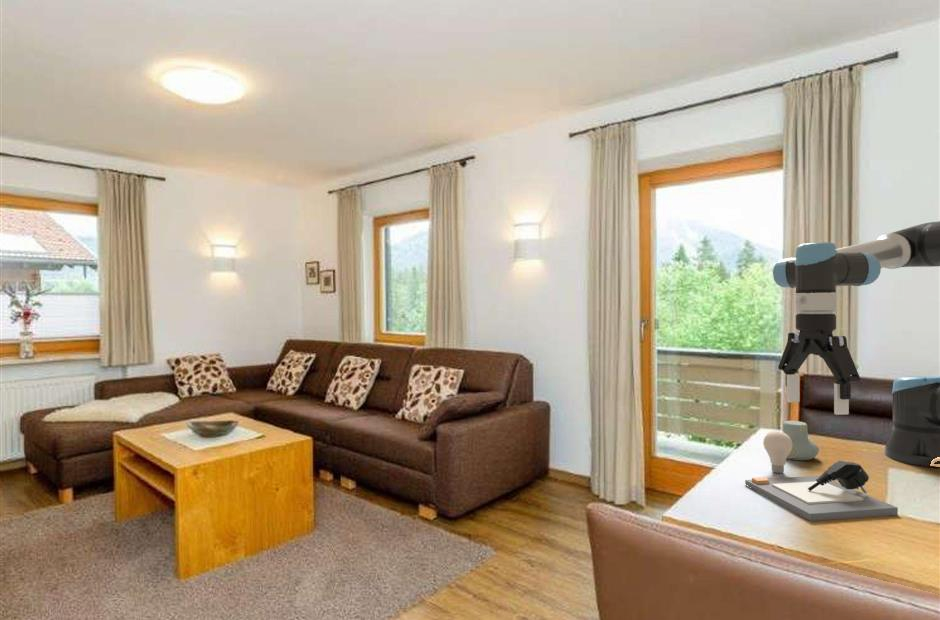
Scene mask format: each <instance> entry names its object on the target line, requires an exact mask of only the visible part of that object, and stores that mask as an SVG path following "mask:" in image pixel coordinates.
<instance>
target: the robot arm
mask: <svg viewBox="0 0 940 620" xmlns="http://www.w3.org/2000/svg"><path fill="white" fill-rule="evenodd" d="M836 247H837V246H836V244H835V243H833V242H825V241H824V242H807V243H802V244H799V245H798V246H797V247H796V248H795V257H788V258H783V259H780V260H778V261H777V262H776V263H775V264H774V266H773V269H772V276H773V281H774V282H775V283H776V284H777V285H778V286H779V287H781V288H791V289H794V288H795V311H797V312H798V313H797V314H796V315H795V329H796V330H797V331H799V332H788V334H787V342H786V345H785V348H784V350H783V353H782V355H781V358H780V361H779V364H778V367H777V368H778V370H779V371H783V373H784V374H785V387H786V402H787V403H800V395H801V394H800V389H801V388H800V373H799V369H800V368H801V367H802V365H803V364H804V363H805V362H806V360H807V359H808V357H809V356H810V355H814V356H819V357H820V358H822V359H823V361H824V362H825V364H826V366H827V368H828V369H829V370H830V372H831V373H832V375H833V377H834V378H835V380H836V381H835V382H834V384H833V405H834V406H833V411H834V412H833V414H834V415H836V416H839V415H840V416H841V415H849V414H850V411H849V409H850V406H849V405H850V402H849V401H850V399H851V398H852V397H851V395H852V394H851V393H852V391H851V390H852V388H851V385H852V384H853V383H859V382H860V381H861V377H860V374H859V372H858V370H857V367H856V365H855V364H856V363H855V362H854V359H853V357H852V354H851V353H850V350H849V348H848V341H847V337H846V335H836V336H835V335H834V333H833V332H834V331H836V330H837V315H836V314H835V313H834V312H836V311H837V287H847V286H848V287H851V286H853V287H860V286H861V287H862V286H867V285H870V284H872V283H875V281H877V279H878V278H879V277H880V274H881V271H882V268H883V269H884V268H885V269H888V270H894V269H901V268H908V267H909V268H910V267H911V268H914V267H917V268H918V267H920V268H923V267H924V268H925V267H926V268H928V267H940V221H931V222H924V223H921V224H920V223H919V224H917V225H914V226H910V227H907V228H903V229H900V230H896V231H894V232H893V231H892V232H889V233H885V234H883V235H880V236H879V237H878V238H877V239H875V240H871V241H867V242H863V243H857V244H853V245H848V246H845V247H843V246H842V247H839V248H836ZM892 383H893V384H892V391H891V394H892V429H891V431H890V434H889V437H888V439H887V442H886V444H885V446H884V455H885V457H887V458H889V459H890V460H893V461H897V462H900V463H905V464H909V465H914V466H919V465H921V467H926V466H930V464H931V461H932V460H933V459H935V458H937V457H940V375H921V376H920V375H915V376H900V377H896V378H895V379H894V380H893V382H892ZM934 464H940V461H937V462H935V463H934Z"/></svg>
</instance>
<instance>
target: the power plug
mask: <svg viewBox="0 0 940 620" xmlns="http://www.w3.org/2000/svg"><path fill="white" fill-rule="evenodd" d="M820 475H821V477H819V479H817V480H816V481H817V483H815V484H814V485H812V486H811V487H809V488H808V490H809V491H811V490H812V489H814V488H815V487H817V486H818V485H822V486H823V485H825V484H827V483H829V481H830V482H832V481H836V480H837V482H838V483H840V484H841V485H842V487H845V489H854V490H859V489H860V490H861V491H862V493H864V494H867V493H868V490H867V489H866V486H864V485H866V483H867V482H869V479H870V477H869V475H868V473H867V472H866V471H865V469H864V468H863V467H862V466H861V464H859V463H857V462H853V461H844V460H843V461H842V460H838V461H836V462H835V463H833V464H832V465H831V466H829V467H828V468H827V469H826V470H825V471H823V473H821V474H820ZM831 480H832V481H831ZM826 482H827V483H826ZM824 483H825V484H824Z"/></svg>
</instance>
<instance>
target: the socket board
mask: <svg viewBox="0 0 940 620" xmlns="http://www.w3.org/2000/svg"><path fill="white" fill-rule="evenodd" d="M821 475H822V474H819V475H808V476H807V475H806V476H804V475H803V476H789V477H787V476H786V477H773V478H772V477H771V478H766V477H763V476H762V477H751V479H745V480H744V483H745V484H746V485H748V486H749V487H751V488H753V489H754V490H753V489H752V490H753V491H755V490H756V491H758V492H759V493H758V492H757V493H758V494H760V493H761V494H760V495H762V494H763V495H764V496H763V495H762V496H763V497H765V496H766V497H765V498H767V497H768V498H767V499H769V500H771V501H772V502H774V501H775V502H774V503H776V504H778V505H779V506H781V507H783V508H785V509H787V510H789V511H790V512H792V513H794V514H796V515H798V516H799V517H801V518H803V519H806V520H807V521H809V522H817V521H830V520H844V519H845V520H846V519H858V518H859V519H860V518H873V517H886V516H898V513H899V512H898V511H899V509H898V507H897V506H895V505H892V504H891V503H888V502H885V501H883V500H881V499H878V498H875V497H873V496H871V495H868V494H867V493H864V492H861V491H858V489H845V487H842V485H841V484H840V483H839V482H838V481H836V480H834V481H832V480H831V481H832V482H830V481H829V483H827V482H826V483H827V484H825V483H824V484H825V485H823V486H822V485H818V486H817V487H815V488H814V489H812V490H811V491H809V490H808V488H809V487H811V486H812V485H814V484H815V483H817V481H816V480H817V479H819V477H821ZM746 485H745V486H746ZM749 487H748V488H749ZM751 488H750V489H751ZM756 491H755V492H756Z"/></svg>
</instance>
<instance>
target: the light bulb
mask: <svg viewBox="0 0 940 620" xmlns="http://www.w3.org/2000/svg"><path fill="white" fill-rule="evenodd" d="M762 445H763V447H764V449H765V451H766V453H767V455H768V457H769V461H770V463H771V471H772V472H773V473H775V474H783V473H784V471H785V465H786V461H787V459H788V458H787V457H788V455H789V454H790V452H791V450H792V446H793V445H792V440H791V439H790V437H789V436H788V435H787V434H785V433H783V431H780V430H774V431H773V430H772V431H769V432H768V433H766V435H765V436H764V437H763V443H762Z"/></svg>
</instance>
